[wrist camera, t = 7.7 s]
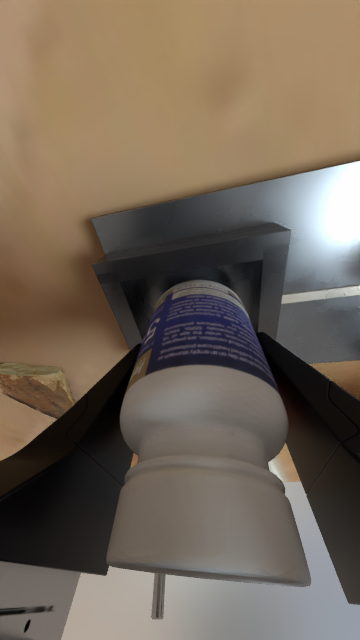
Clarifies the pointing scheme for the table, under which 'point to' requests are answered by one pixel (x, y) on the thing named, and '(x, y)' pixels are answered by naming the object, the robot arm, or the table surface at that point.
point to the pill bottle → (205, 449)
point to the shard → (37, 387)
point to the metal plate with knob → (248, 258)
